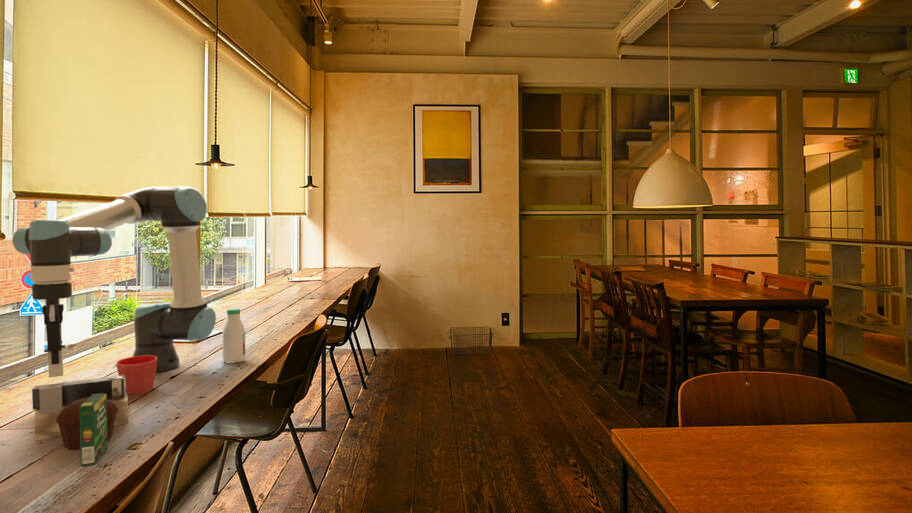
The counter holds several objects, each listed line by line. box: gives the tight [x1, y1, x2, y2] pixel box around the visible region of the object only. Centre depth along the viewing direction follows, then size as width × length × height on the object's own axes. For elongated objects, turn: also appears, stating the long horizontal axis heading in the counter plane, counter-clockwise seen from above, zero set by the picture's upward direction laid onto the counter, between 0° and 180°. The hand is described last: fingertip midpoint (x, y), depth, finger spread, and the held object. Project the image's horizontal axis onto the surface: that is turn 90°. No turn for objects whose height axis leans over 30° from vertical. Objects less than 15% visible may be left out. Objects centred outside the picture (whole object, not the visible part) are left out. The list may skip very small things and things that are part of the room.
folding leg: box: [31, 375, 127, 411], centre depth 120 cm, size 18×4×5 cm, turn 120°
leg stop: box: [39, 385, 62, 415], centre depth 114 cm, size 4×2×6 cm, turn 127°
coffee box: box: [80, 393, 109, 467], centre depth 104 cm, size 8×3×13 cm, turn 20°
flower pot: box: [116, 355, 157, 395], centre depth 148 cm, size 11×11×10 cm
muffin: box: [56, 397, 119, 451], centre depth 112 cm, size 12×11×10 cm
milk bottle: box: [222, 308, 246, 363], centre depth 182 cm, size 8×8×20 cm
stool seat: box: [34, 394, 129, 442], centre depth 127 cm, size 18×23×6 cm
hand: (56, 375), depth 120 cm, fingers closed
